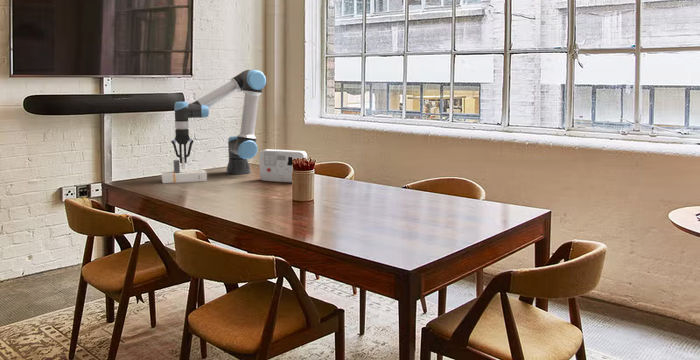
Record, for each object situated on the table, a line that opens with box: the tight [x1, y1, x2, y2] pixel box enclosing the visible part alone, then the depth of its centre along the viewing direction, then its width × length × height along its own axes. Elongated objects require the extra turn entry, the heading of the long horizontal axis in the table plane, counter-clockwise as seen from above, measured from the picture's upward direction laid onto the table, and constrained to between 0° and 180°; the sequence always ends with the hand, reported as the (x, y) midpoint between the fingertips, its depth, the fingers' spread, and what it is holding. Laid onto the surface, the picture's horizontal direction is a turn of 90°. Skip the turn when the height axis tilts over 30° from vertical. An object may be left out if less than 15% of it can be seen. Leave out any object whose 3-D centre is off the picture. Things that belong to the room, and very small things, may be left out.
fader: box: [172, 159, 181, 173], centre depth 389 cm, size 3×5×11 cm, turn 18°
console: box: [161, 169, 208, 184], centre depth 391 cm, size 25×11×5 cm, turn 108°
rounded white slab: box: [258, 148, 308, 183], centre depth 387 cm, size 29×8×18 cm, turn 70°
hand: (183, 168), depth 390 cm, fingers closed
